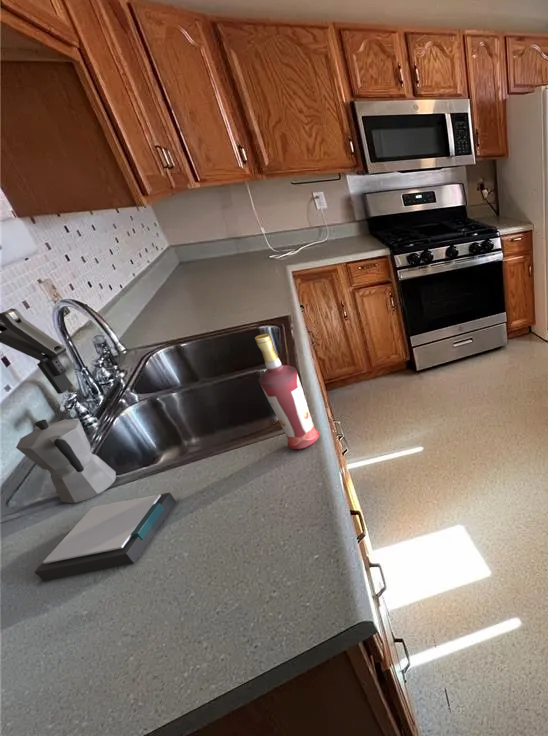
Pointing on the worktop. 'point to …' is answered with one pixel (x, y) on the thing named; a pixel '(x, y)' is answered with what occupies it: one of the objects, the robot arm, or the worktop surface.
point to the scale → (107, 537)
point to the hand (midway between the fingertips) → (25, 396)
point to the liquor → (286, 397)
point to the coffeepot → (67, 459)
